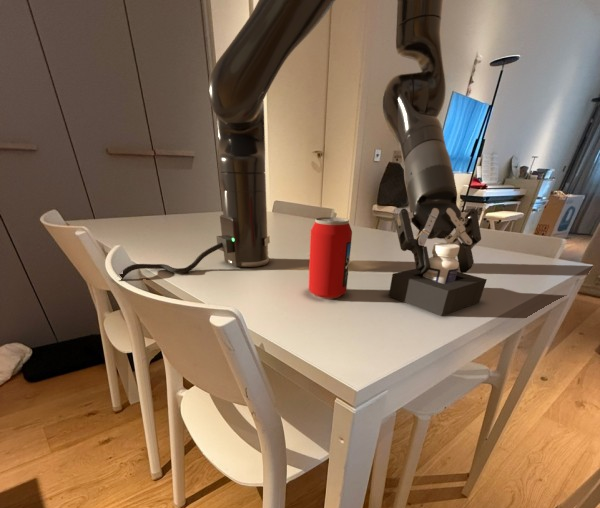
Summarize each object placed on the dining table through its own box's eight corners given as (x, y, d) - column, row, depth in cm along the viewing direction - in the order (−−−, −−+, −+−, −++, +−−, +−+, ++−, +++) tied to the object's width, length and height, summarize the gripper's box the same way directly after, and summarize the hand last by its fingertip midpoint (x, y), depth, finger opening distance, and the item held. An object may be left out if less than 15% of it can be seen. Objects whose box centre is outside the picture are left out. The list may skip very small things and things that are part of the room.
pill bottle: (444, 295, 61) (459, 242, 56) (452, 305, 57) (469, 249, 52) (415, 293, 62) (427, 241, 56) (420, 303, 57) (434, 247, 52)
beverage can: (353, 296, 60) (362, 221, 53) (322, 303, 57) (327, 224, 50) (331, 286, 64) (336, 215, 57) (301, 291, 61) (303, 217, 54)
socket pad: (441, 316, 53) (448, 290, 51) (388, 296, 60) (392, 273, 58) (479, 302, 58) (487, 279, 56) (426, 286, 65) (431, 264, 63)
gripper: (399, 161, 52) (416, 258, 50) (481, 163, 55) (501, 256, 52) (381, 197, 60) (395, 284, 57) (454, 198, 62) (471, 281, 60)
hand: (446, 270), depth 55 cm, fingers open, 7 cm apart
